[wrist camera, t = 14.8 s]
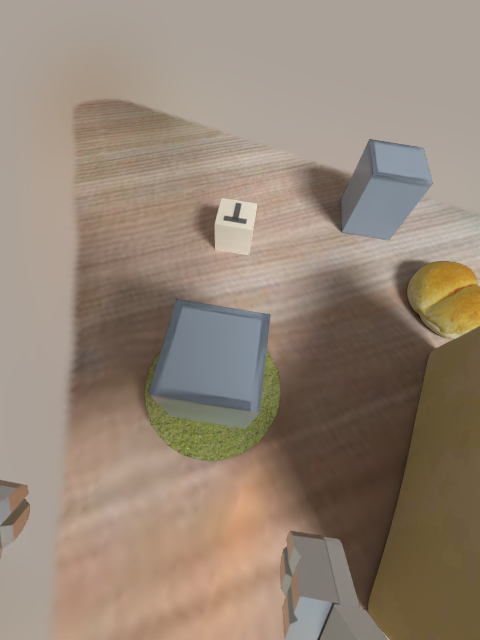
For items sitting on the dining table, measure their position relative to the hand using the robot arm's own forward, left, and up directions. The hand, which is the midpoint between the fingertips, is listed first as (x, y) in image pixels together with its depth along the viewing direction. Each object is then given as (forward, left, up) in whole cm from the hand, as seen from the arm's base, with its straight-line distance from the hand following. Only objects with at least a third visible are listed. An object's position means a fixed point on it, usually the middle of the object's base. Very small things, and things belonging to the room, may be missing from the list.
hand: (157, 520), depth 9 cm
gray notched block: (-15, -32, -15) cm, 39 cm away
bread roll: (-24, -21, -15) cm, 35 cm away
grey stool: (0, -7, -13) cm, 15 cm away
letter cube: (+1, -25, -15) cm, 29 cm away
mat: (0, -7, -15) cm, 17 cm away
